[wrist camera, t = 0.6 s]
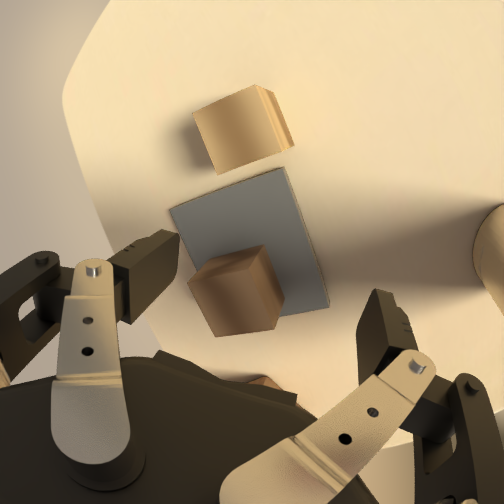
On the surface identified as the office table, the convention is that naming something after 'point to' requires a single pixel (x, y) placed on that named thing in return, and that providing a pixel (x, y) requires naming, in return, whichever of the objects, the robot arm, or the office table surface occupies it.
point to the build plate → (257, 234)
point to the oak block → (243, 128)
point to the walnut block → (238, 292)
